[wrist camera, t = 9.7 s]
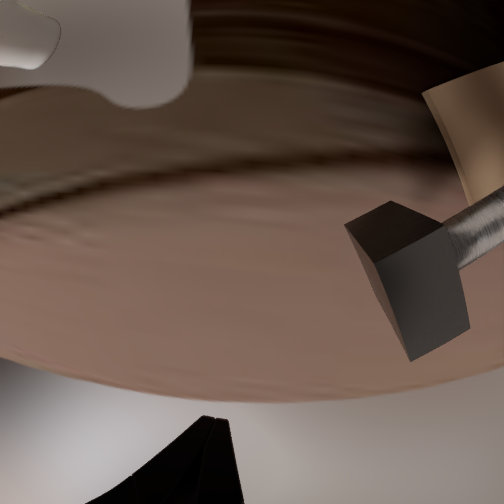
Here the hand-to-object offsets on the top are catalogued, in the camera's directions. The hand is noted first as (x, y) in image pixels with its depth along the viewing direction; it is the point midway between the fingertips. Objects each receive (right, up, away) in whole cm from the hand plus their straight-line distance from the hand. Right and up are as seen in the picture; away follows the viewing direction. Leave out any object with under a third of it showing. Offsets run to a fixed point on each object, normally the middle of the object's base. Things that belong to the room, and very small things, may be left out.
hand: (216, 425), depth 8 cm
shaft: (+16, +10, +2) cm, 19 cm away
